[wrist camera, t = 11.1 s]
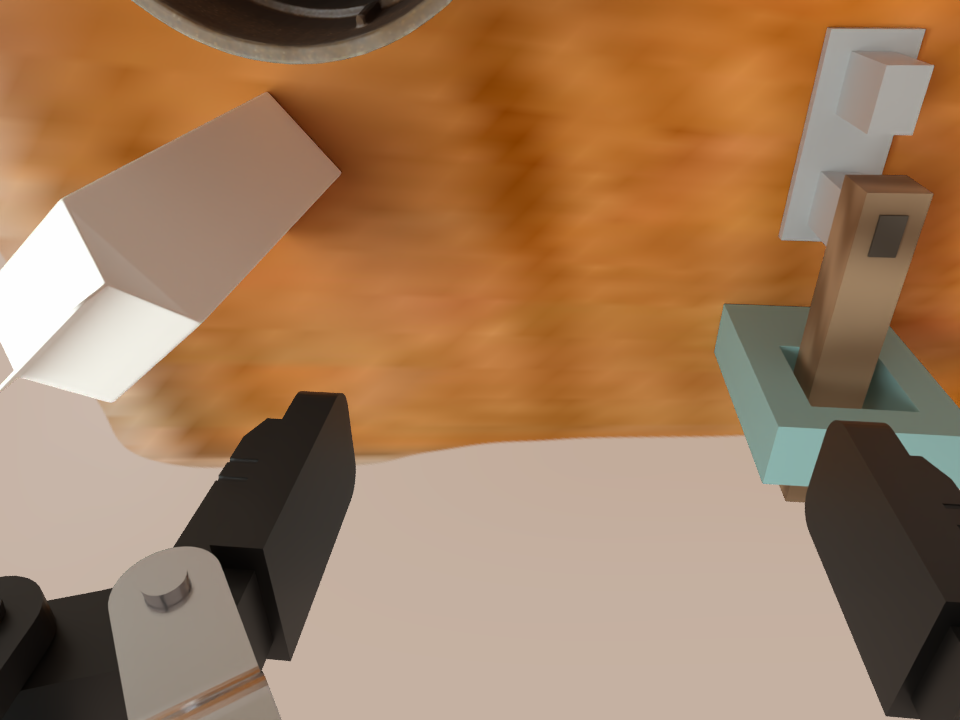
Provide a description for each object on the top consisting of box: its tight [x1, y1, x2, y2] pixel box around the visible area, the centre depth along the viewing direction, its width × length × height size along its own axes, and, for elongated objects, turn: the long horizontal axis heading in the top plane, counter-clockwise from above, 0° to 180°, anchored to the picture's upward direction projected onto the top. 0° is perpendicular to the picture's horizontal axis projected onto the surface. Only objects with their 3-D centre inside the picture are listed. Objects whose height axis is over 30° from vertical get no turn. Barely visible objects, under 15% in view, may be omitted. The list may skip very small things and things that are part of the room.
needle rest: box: [779, 27, 934, 246], centre depth 35 cm, size 11×4×5 cm, turn 0°
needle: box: [779, 175, 933, 502], centre depth 37 cm, size 19×3×3 cm, turn 0°
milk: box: [0, 92, 341, 402], centre depth 31 cm, size 6×6×22 cm
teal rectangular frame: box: [714, 304, 960, 489], centre depth 38 cm, size 4×9×13 cm, turn 90°
